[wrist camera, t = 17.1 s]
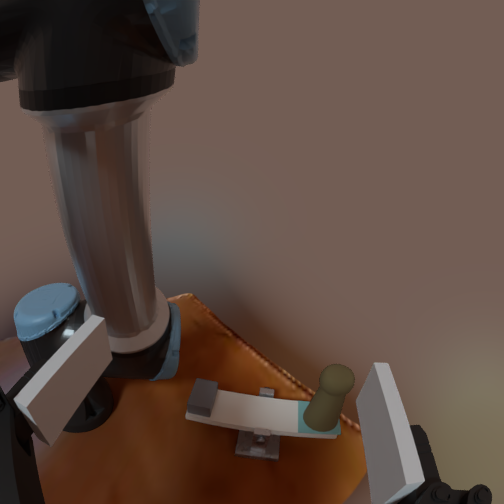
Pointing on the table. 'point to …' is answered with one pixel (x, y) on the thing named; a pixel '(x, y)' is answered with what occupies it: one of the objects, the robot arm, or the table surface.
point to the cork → (329, 398)
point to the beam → (250, 412)
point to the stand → (259, 439)
